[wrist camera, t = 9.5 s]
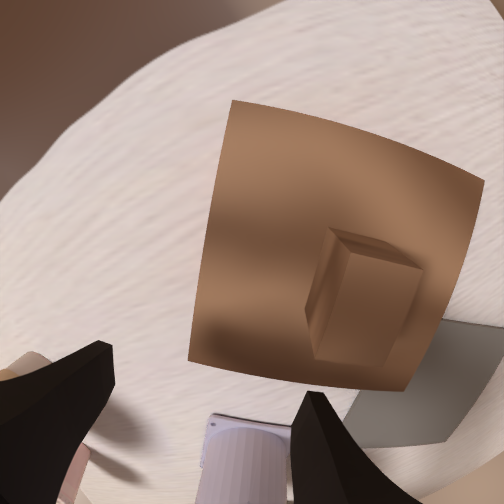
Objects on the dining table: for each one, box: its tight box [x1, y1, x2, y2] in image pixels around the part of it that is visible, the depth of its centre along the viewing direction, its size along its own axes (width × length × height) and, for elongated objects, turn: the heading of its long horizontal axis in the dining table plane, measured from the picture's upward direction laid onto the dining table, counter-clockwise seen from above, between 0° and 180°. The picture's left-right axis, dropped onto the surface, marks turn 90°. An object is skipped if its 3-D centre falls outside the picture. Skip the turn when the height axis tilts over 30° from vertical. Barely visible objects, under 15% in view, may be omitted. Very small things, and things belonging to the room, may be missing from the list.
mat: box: [342, 319, 504, 448], centre depth 21 cm, size 15×15×1 cm
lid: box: [188, 100, 485, 392], centre depth 12 cm, size 13×13×5 cm
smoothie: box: [56, 442, 91, 504], centre depth 20 cm, size 6×6×14 cm
